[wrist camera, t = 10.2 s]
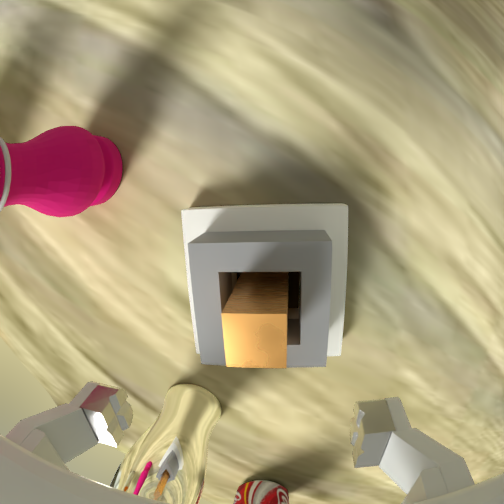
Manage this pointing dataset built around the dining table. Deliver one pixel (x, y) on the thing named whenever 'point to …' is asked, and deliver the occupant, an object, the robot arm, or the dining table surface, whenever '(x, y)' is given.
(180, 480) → the clear waisted cup
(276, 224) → the socket
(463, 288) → the dining table surface
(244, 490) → the soda can
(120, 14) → the dining table surface
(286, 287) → the pin
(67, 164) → the pepper mill
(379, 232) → the dining table surface
